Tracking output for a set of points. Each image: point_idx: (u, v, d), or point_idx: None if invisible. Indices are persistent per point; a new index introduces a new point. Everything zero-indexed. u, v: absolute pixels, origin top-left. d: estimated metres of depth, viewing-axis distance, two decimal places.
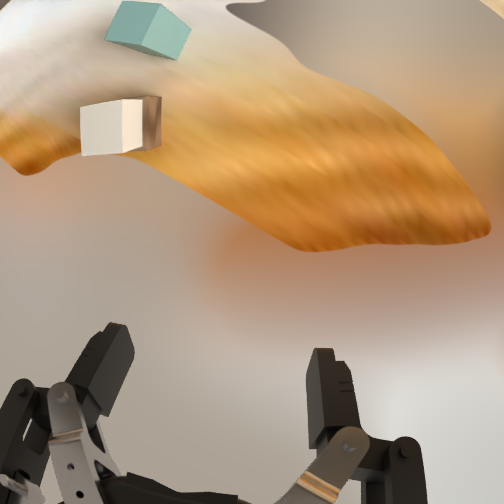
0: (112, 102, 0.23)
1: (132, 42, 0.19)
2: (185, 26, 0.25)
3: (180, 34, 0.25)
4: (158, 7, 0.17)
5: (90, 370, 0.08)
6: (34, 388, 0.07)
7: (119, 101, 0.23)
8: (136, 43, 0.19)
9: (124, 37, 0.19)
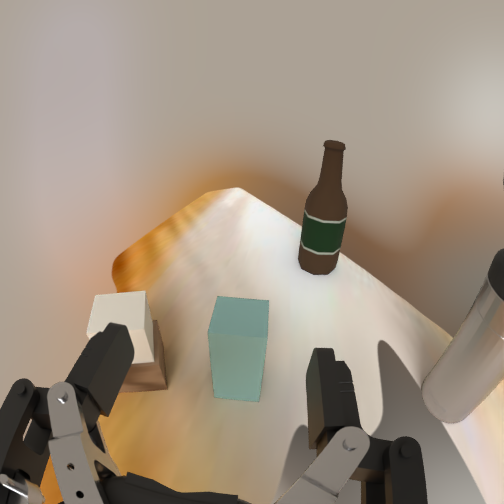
0: (142, 319, 0.25)
1: (211, 323, 0.23)
2: (257, 390, 0.26)
3: (245, 388, 0.26)
4: (261, 336, 0.22)
5: (90, 370, 0.08)
6: (34, 388, 0.07)
7: (142, 326, 0.24)
8: (210, 327, 0.23)
9: (218, 314, 0.24)
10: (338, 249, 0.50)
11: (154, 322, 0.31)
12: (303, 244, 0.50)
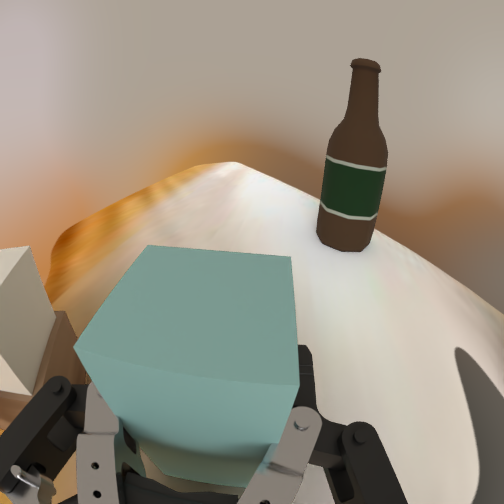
0: None
1: (97, 316, 0.06)
2: None
3: (226, 475, 0.09)
4: (275, 380, 0.05)
5: None
6: (71, 389, 0.07)
7: None
8: (89, 331, 0.06)
9: (130, 290, 0.07)
10: (376, 214, 0.33)
11: (59, 314, 0.14)
12: (326, 205, 0.33)
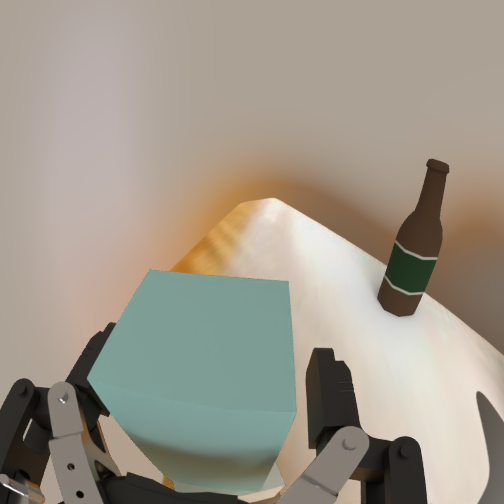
0: (274, 468, 0.12)
1: (107, 347, 0.06)
2: (257, 484, 0.09)
3: (228, 481, 0.09)
4: (274, 408, 0.05)
5: (90, 370, 0.08)
6: (34, 388, 0.07)
7: (279, 480, 0.11)
8: (100, 362, 0.06)
9: (136, 319, 0.07)
10: None
11: None
12: (391, 282, 0.38)
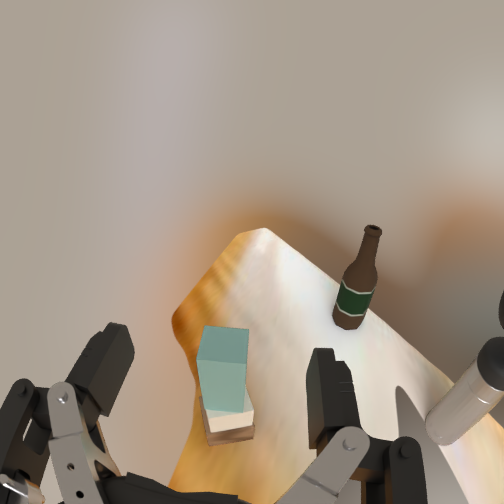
0: (250, 402, 0.33)
1: (199, 350, 0.27)
2: (241, 404, 0.30)
3: (230, 402, 0.30)
4: (241, 362, 0.26)
5: (90, 370, 0.08)
6: (34, 388, 0.07)
7: (251, 408, 0.32)
8: (198, 354, 0.26)
9: (205, 342, 0.28)
10: (366, 309, 0.58)
11: None
12: (339, 307, 0.58)
